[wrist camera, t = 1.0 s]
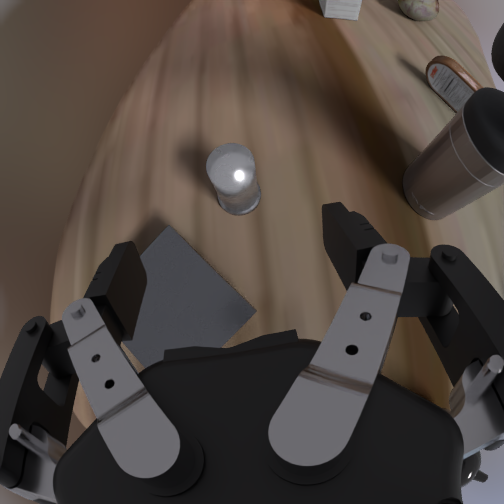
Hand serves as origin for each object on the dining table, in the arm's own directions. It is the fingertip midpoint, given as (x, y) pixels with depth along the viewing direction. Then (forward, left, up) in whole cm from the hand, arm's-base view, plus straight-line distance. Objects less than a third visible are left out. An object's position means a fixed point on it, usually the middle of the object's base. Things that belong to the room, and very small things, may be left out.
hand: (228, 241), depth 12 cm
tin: (-47, +4, -26) cm, 53 cm away
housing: (-7, -10, -25) cm, 28 cm away
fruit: (-69, -15, -26) cm, 75 cm away
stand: (+9, -5, -25) cm, 27 cm away
